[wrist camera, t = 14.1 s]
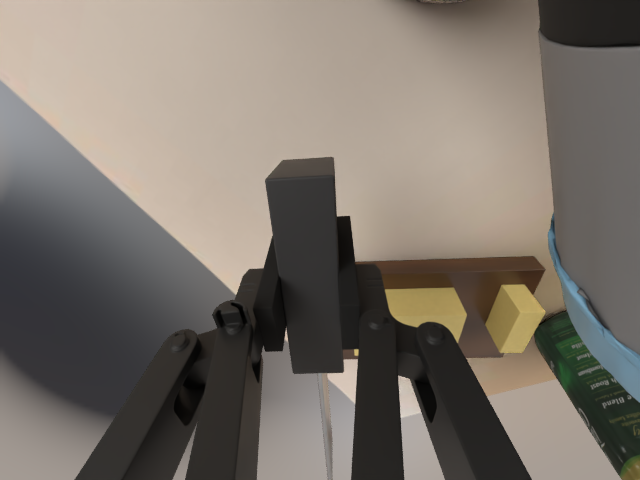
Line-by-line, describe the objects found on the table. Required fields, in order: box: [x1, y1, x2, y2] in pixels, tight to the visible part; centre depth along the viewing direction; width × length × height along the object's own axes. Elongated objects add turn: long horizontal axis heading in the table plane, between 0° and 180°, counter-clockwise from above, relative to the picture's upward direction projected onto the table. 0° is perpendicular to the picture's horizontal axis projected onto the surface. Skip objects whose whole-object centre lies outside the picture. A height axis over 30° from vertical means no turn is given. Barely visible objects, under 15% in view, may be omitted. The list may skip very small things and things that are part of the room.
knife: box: [265, 157, 344, 480], centre depth 17 cm, size 22×3×4 cm, turn 4°
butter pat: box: [485, 285, 546, 353], centre depth 29 cm, size 6×2×4 cm, turn 3°
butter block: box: [354, 288, 467, 356], centre depth 30 cm, size 6×10×4 cm, turn 94°
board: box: [343, 256, 545, 359], centre depth 33 cm, size 14×20×2 cm
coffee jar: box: [534, 311, 640, 480], centre depth 28 cm, size 10×8×19 cm
